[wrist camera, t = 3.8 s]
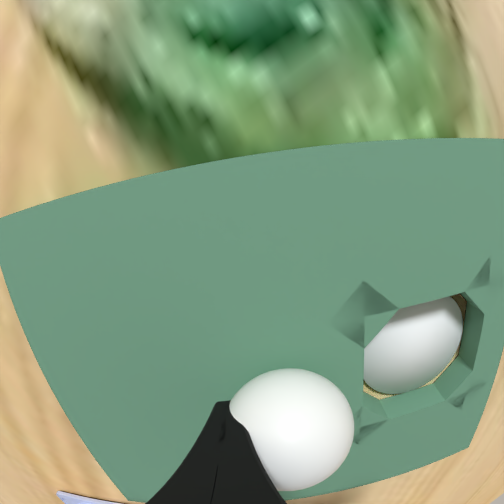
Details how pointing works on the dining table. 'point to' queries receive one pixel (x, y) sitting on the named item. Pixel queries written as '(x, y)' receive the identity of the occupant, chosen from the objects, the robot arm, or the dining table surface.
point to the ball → (295, 425)
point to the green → (270, 298)
